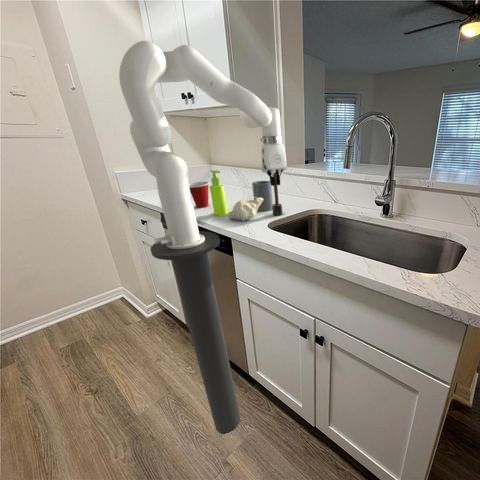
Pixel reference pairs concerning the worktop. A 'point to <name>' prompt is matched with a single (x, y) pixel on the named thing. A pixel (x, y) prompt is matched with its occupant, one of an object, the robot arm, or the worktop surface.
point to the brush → (276, 200)
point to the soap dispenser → (218, 195)
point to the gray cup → (263, 194)
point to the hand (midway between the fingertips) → (275, 184)
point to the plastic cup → (200, 193)
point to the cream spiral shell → (245, 209)
